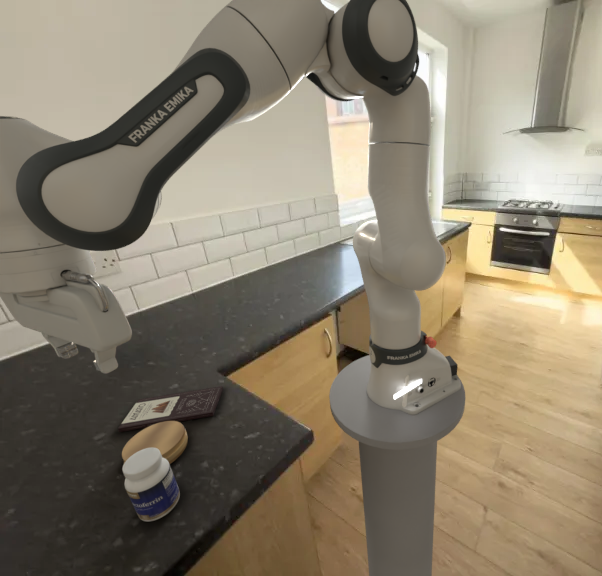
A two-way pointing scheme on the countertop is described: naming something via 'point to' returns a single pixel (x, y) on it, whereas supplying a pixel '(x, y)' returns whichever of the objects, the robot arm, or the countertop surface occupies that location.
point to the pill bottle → (150, 484)
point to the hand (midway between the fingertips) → (88, 362)
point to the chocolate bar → (172, 408)
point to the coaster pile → (159, 440)
